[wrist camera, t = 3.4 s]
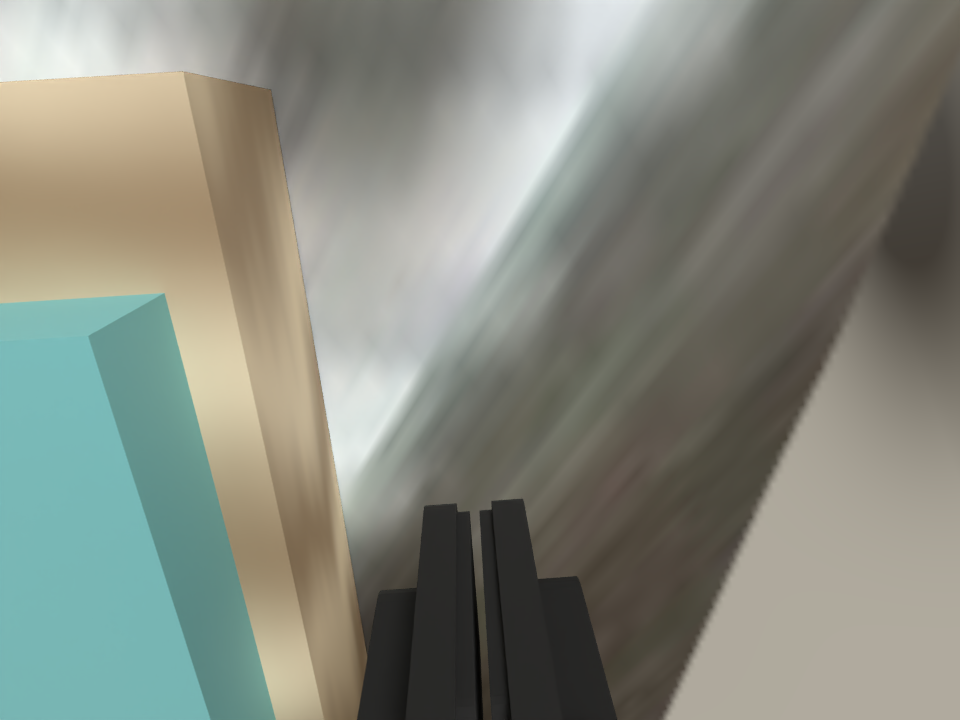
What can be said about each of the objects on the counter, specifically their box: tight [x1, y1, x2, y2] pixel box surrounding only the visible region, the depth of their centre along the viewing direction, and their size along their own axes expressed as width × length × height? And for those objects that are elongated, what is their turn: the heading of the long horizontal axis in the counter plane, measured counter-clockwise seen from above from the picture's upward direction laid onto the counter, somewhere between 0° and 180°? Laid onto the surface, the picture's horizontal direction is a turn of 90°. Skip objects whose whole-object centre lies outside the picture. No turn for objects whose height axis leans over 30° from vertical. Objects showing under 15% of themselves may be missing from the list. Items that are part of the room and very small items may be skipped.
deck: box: [0, 71, 367, 720], centre depth 13 cm, size 16×13×4 cm
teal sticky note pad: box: [0, 293, 276, 720], centre depth 10 cm, size 10×7×2 cm
